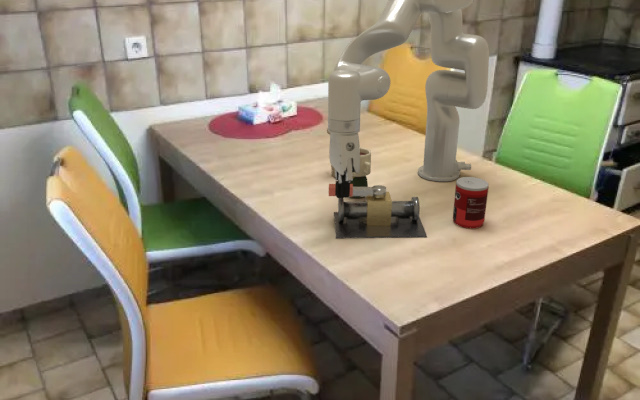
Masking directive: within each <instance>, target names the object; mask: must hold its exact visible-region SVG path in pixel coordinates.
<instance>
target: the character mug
mask: <svg viewBox="0 0 640 400" xmlns="http://www.w3.org/2000/svg"><path fill="white" fill-rule="evenodd" d="M371 166H372V152H371V150H370V149H368V148H365V147H360V172H359V174H356V173H355V172H354V171H353V170H352V176H353V180H352V181H350V184H353V187H369V183H368V177H367V176H368V175H370V174H371V171H372V170H371ZM350 197H351V198H362V197H363V196H349V198H350Z"/></svg>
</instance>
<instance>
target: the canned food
mask: <svg viewBox="0 0 640 400" xmlns="http://www.w3.org/2000/svg"><path fill="white" fill-rule="evenodd" d="M454 191H455V192H454V201H453V213H452V220H453V223H454V224H455V225H457V226H458V227H460V228H464V229H479V228H481V227H482V226H483V225H484V223H485V219H486V218H485V217H486V210H487V202H488V194H489V182H488V181H486V180H485V179H483V178H481V177H476V176H475V177H474V176H462V177H460V178H459V177H458V178H457V179H456V183H455V190H454Z"/></svg>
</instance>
